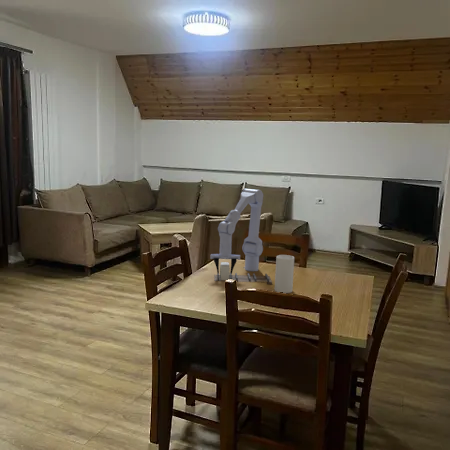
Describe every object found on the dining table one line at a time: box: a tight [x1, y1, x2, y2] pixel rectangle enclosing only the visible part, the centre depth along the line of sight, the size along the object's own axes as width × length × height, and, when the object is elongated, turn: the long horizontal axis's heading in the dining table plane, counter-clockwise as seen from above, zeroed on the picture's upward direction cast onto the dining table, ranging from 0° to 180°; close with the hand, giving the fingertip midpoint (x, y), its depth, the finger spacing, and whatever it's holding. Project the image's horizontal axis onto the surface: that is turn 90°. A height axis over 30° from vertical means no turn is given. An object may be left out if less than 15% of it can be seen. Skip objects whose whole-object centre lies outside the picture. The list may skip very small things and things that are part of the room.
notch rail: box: [213, 272, 273, 285], centre depth 225 cm, size 11×28×2 cm, turn 92°
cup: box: [274, 254, 295, 294], centre depth 210 cm, size 8×8×16 cm
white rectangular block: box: [219, 261, 231, 280], centre depth 224 cm, size 8×4×7 cm, turn 2°
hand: (224, 273), depth 224 cm, fingers open, 6 cm apart
